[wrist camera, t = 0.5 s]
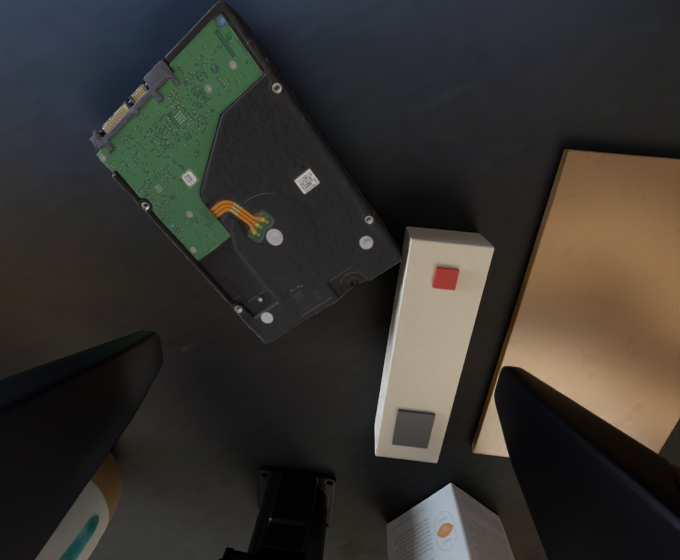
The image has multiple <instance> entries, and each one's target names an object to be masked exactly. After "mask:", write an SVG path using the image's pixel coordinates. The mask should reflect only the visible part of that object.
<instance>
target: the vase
mask: <svg viewBox="0 0 680 560" xmlns="http://www.w3.org/2000/svg"><path fill="white" fill-rule="evenodd" d="M121 487H122V476H121V470H120V467H119V464H118V462H117V460H116V459H115V457H114V455H113V454H112V453H111V452H109V454H108V455H107V456H106V458H105V459H104V461H103V462H102V464H101V465H100V467H99V468H98V469H97V471H96V472H95V474H94V475H93V477H92V478H91V480H90V481H89V482H88V484H87V485H86V487H85V488H84V490H83V491H82V493H81V494H80V495H79V497H78V498H77V500H76V501H75V503H74V504H73V506H72V507H71V509H70V510H69V511H68V513H67V514H66V516H65V517H64V519H63V520H62V522H61V523H60V524H59V526H58V527H57V529H56V530H55V532H54V533H53V535H52V536H51V537H50V539H49V540H48V542H47V543H46V545H45V546H44V548H43V549H42V550H41V552H40V553H39V555H38V556H37V558H36V559H35V560H88V558H89V557H90V555H91V553H92V552H93V550H94V548H95V546H96V545H97V543H98V541H99V540H100V538H101V536H102V534H103V533H104V531H105V529H106V527H107V525H108V524H109V522H110V520H111V518H112V516H113V514H114V511H115V509H116V506H117V504H118V501H119V498H120V494H121Z"/></svg>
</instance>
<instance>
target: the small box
mask: <svg viewBox="0 0 680 560" xmlns="http://www.w3.org/2000/svg"><path fill="white" fill-rule="evenodd" d="M386 528H387V547H388V560H515V559H514V556H513V553H512V551H511V548H510V545H509V542H508V539H507V536H506V533H505V531H504V528H503V525H502V522H501V520H500V518H499V517H498V515H496V514H495V513H493V512H492V511H490V510H489V509H488V508H486V507H485V506H483V505H482V504H481V503H479V502H478V501H476V500H475V499H474V498H472V497H471V496H470V495H468V494H467V493H465V492H464V491H463V490H461V489H460V488H458V487H457V486H455V485H454V484H452V483H449V484H448V485H447V486H445V487H444V488H442V489H441V490H439V491H438V492H436V493H435V494H433V495H431V496H430V497H428V498H427V499H425V500H424V501H422V502H421V503H419V504H418V505H416V506H415V507H413V508H412V509H410V510H409V511H407V512H405V513H404V514H402V515H401V516H399V517H398V518H396V519H395V520H393V521H392V522H390V523H388V524H387V525H386Z"/></svg>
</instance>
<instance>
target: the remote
mask: <svg viewBox="0 0 680 560" xmlns="http://www.w3.org/2000/svg"><path fill="white" fill-rule="evenodd" d="M493 252H494V247H493V246H492V245H491V244H490V243H489V242H488V241H487V240H486V239H485V238H484V237H483V236H481V235H480V234H479V233H471V232H460V231H450V230H440V229H429V228H419V227H408V226H407V227H406V229H405V236H404V242H403V248H402V255H401V261H400V267H399V274H398V280H397V286H396V293H395V299H394V305H393V312H392V318H391V325H390V331H389V337H388V344H387V350H386V356H385V363H384V369H383V375H382V382H381V388H380V394H379V401H378V407H377V413H376V420H375V455H376V456H382V457H390V458H398V459H406V460H415V461H423V462H431V463H437V462H438V458H439V454H440V450H441V447H442V443H443V439H444V435H445V432H446V428H447V424H448V420H449V417H450V413H451V409H452V405H453V402H454V398H455V394H456V390H457V387H458V383H459V379H460V375H461V372H462V368H463V364H464V360H465V357H466V353H467V349H468V345H469V342H470V338H471V334H472V330H473V327H474V323H475V319H476V315H477V312H478V308H479V304H480V300H481V297H482V293H483V289H484V285H485V282H486V278H487V274H488V270H489V267H490V263H491V259H492V255H493Z"/></svg>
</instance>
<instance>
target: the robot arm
mask: <svg viewBox="0 0 680 560" xmlns="http://www.w3.org/2000/svg"><path fill="white" fill-rule="evenodd" d="M162 362H163V356H162V349H161V342H160V337H159V334H158V333H156V332H152V331H139V332H136V333H133V334H130V335H127V336H124V337H121V338H119V339H116V340H113V341H110V342H107V343H104V344H101V345H98V346H95V347H93V348H90V349H87V350H84V351H81V352H78V353H75V354H72V355H70V356H67V357H64V358H61V359H58V360H55V361H52V362H49V363H47V364H44V365H41V366H38V367H35V368H32V369H29V370H26V371H24V372H21V373H18V374H15V375H12V376H9V377H6V378H3V379H1V380H0V560H35V559H36V558H37V556H38V555H39V553H40V552H41V550H42V549H43V548H44V546H45V545H46V543H47V542H48V540H49V539H50V537H51V536H52V535H53V533H54V532H55V530H56V529H57V527H58V526H59V524H60V523H61V522H62V520H63V519H64V517H65V516H66V514H67V513H68V511H69V510H70V509H71V507H72V506H73V504H74V503H75V501H76V500H77V498H78V497H79V495H80V494H81V493H82V491H83V490H84V488H85V487H86V485H87V484H88V482H89V481H90V480H91V478H92V477H93V475H94V474H95V472H96V471H97V469H98V468H99V467H100V465H101V464H102V462H103V461H104V459H105V458H106V456H107V455H108V454H109V452H110V451H111V449H112V448H113V446H114V445H115V443H116V442H117V440H118V439H119V438H120V436H121V435H122V433H123V432H124V430H125V429H126V427H127V426H128V424H129V423H130V421H131V420H132V418H133V417H134V415H135V413H136V412H137V410H138V408H139V407H140V405H141V403H142V401H143V399H144V398H145V396H146V394H147V392H148V390H149V388H150V387H151V385H152V383H153V381H154V379H155V378H156V376H157V374H158V372H159V370H160V368H161V366H162ZM494 401H495V405H496V409H497V413H498V416H499V420H500V424H501V428H502V432H503V436H504V440H505V443H506V447H507V451H508V454H509V458H510V460H511V463H512V466H513V469H514V471H515V474H516V477H517V479H518V482H519V485H520V487H521V490H522V492H523V495H524V498H525V500H526V503H527V506H528V508H529V511H530V514H531V516H532V519H533V521H534V524H535V527H536V529H537V532H538V535H539V537H540V540H541V542H542V545H543V548H544V550H545V553H546V556H547V558H548V560H680V467H678V466H676V465H675V464H673V463H669V461H668V460H667V459H665V458H664V457H662V456H660V455H659V454H657V453H656V452H654V451H653V450H651V449H649V448H648V447H646V446H645V445H643V444H641V443H640V442H638V441H637V440H635V439H633V438H632V437H630V436H629V435H627V434H626V433H624V432H622V431H621V430H619V429H618V428H616V427H614V426H613V425H611V424H610V423H608V422H607V421H605V420H603V419H602V418H600V417H599V416H597V415H595V414H594V413H592V412H591V411H589V410H587V409H586V408H584V407H583V406H581V405H580V404H578V403H576V402H575V401H573V400H572V399H570V398H568V397H567V396H565V395H564V394H562V393H561V392H559V391H557V390H556V389H554V388H553V387H551V386H549V385H548V384H546V383H545V382H543V381H542V380H540V379H538V378H537V377H535V376H534V375H532V374H530V373H529V372H527V371H526V370H524V369H523V368H521V367H515V366H504V367H502V369H501V371H500V374H499V377H498V381H497V384H496V388H495V392H494ZM335 483H336V478H335V476H333V475H330V474H322V473H314V472H306V471H298V470H290V469H281V468H273V467H262V468H261V469H260V473H259V501H260V510H259V513H258V517H257V520H256V524H255V527H254V531H253V534H252V538H251V541H250V545H249V548H248V552H247V553H246V552H241V551H236V550H234V548H229V547H227V548H226V550H225V553H224V555H223V558H222V559H219V560H323V552H324V542H325V533H326V528H329V527H330V526H331V520H332V511H333V501H334V492H335Z"/></svg>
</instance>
